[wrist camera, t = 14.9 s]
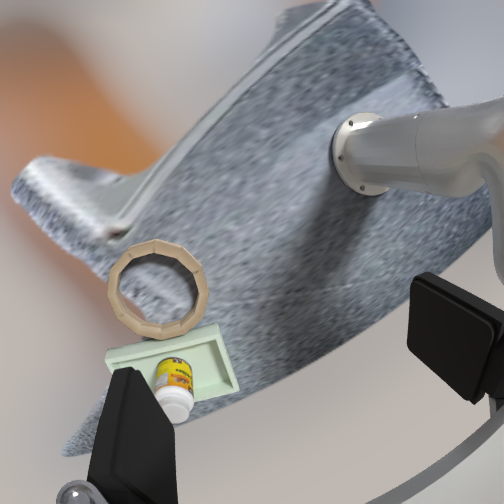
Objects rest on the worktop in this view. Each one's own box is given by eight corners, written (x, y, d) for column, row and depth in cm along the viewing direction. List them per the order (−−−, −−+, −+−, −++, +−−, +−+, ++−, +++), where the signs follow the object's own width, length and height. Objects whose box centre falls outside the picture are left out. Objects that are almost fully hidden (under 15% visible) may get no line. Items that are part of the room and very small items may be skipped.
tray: (217, 322, 41) (219, 333, 38) (236, 379, 45) (239, 390, 42) (108, 349, 39) (103, 360, 36) (138, 400, 42) (136, 412, 40)
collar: (191, 228, 37) (191, 232, 35) (217, 317, 41) (218, 325, 39) (98, 256, 35) (93, 260, 33) (132, 339, 39) (130, 347, 37)
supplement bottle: (199, 371, 42) (204, 417, 33) (172, 386, 42) (171, 432, 32) (177, 348, 40) (176, 394, 31) (149, 364, 40) (143, 410, 31)
